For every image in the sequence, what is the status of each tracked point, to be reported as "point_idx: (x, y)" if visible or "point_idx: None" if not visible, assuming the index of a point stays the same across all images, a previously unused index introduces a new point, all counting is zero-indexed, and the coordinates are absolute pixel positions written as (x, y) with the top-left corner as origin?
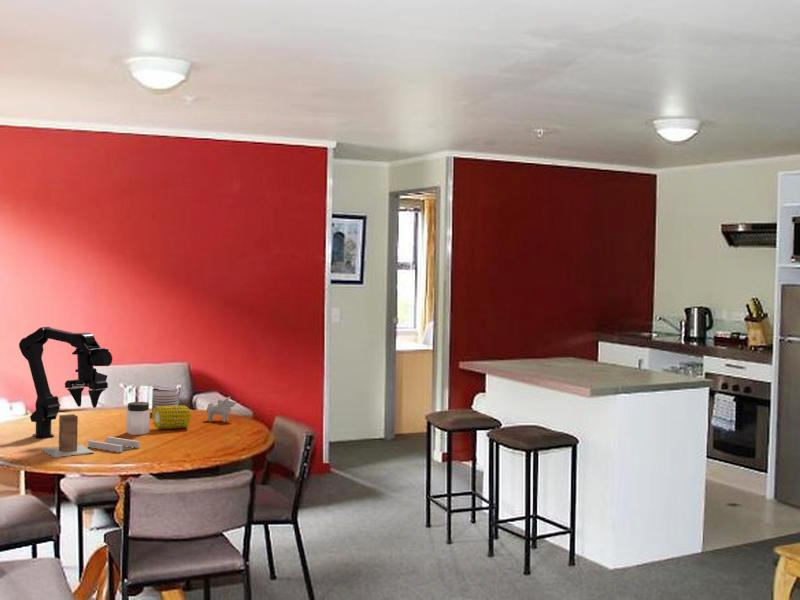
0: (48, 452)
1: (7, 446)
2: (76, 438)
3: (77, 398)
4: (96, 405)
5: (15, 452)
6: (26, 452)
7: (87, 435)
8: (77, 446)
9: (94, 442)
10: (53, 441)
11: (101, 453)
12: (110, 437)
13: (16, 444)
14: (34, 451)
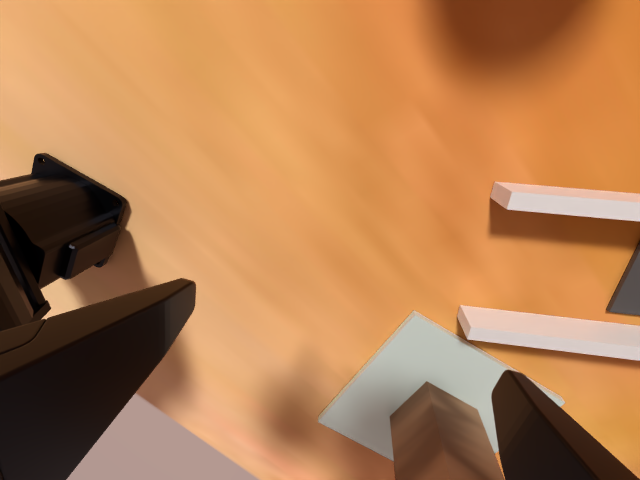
0: (388, 458)
1: (163, 409)
2: (496, 469)
3: (107, 394)
4: (541, 394)
5: (266, 461)
6: (297, 452)
7: (228, 53)
8: (422, 349)
9: (519, 343)
10: (216, 279)
11: (596, 382)
12: (553, 213)
13: (155, 377)
14: (308, 435)
